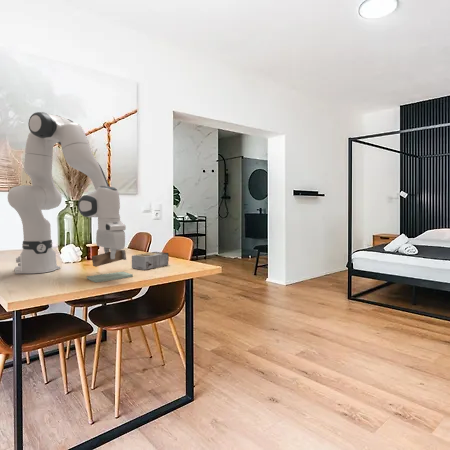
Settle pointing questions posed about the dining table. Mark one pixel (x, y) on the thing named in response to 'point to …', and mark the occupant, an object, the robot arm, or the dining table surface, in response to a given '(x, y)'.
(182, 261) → the dining table surface
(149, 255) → the coffee box
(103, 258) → the brown wooden block
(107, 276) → the mat
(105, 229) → the robot arm
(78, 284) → the dining table surface
